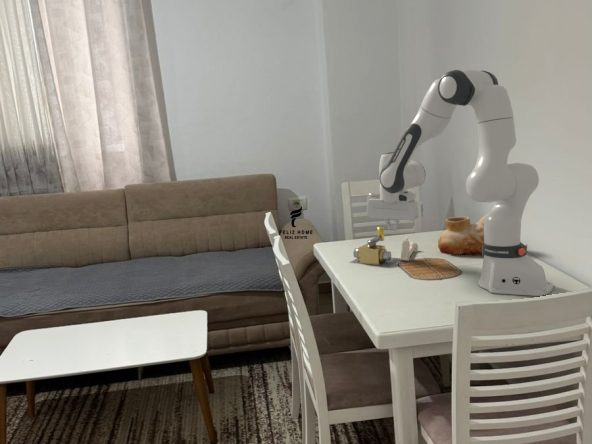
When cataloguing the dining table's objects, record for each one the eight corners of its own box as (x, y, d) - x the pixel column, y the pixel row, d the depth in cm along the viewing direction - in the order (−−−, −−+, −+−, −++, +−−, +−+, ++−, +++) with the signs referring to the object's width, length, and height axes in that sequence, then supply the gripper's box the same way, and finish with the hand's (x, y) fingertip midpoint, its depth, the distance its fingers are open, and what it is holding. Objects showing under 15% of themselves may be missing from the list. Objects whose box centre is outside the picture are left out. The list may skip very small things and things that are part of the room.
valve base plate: (401, 259, 236) (401, 258, 236) (388, 267, 226) (388, 266, 226) (363, 255, 245) (363, 254, 245) (349, 263, 235) (349, 262, 235)
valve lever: (373, 247, 230) (373, 233, 229) (366, 246, 232) (365, 232, 230) (386, 241, 239) (385, 227, 238) (378, 240, 240) (378, 226, 239)
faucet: (418, 263, 247) (419, 238, 248) (409, 260, 231) (410, 234, 232) (408, 262, 249) (409, 238, 250) (398, 259, 232) (400, 233, 233)
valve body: (392, 261, 232) (392, 246, 231) (386, 266, 227) (385, 250, 226) (359, 258, 240) (358, 243, 238) (352, 262, 235) (351, 247, 233)
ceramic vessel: (510, 255, 233) (511, 216, 230) (439, 256, 237) (438, 218, 234) (504, 246, 246) (504, 209, 243) (436, 247, 250) (436, 211, 247)
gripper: (363, 194, 235) (364, 229, 238) (413, 197, 224) (414, 234, 227) (370, 191, 240) (371, 226, 243) (420, 194, 229) (420, 230, 232)
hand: (392, 230), depth 235 cm, fingers closed
